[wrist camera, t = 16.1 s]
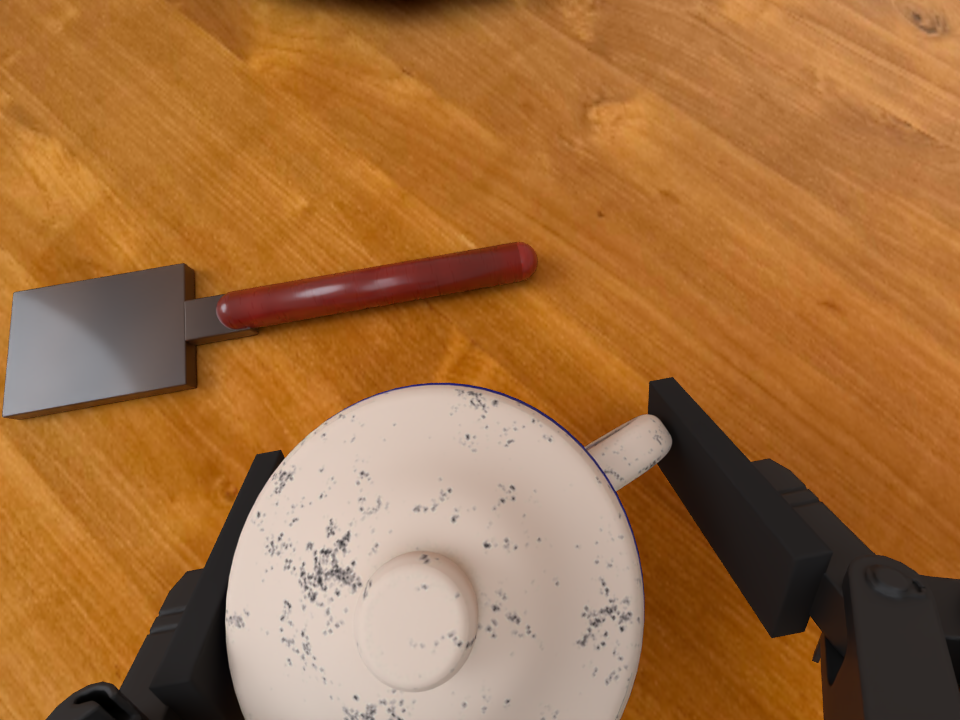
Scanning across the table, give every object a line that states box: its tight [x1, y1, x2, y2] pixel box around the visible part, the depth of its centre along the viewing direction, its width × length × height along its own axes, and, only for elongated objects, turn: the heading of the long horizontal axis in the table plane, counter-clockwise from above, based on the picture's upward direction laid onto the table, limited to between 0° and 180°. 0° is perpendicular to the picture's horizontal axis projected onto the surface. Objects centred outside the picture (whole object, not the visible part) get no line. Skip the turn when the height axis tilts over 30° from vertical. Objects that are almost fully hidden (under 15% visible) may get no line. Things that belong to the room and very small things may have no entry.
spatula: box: [2, 242, 538, 420], centre depth 21 cm, size 24×6×2 cm, turn 100°
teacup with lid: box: [225, 383, 672, 720], centre depth 13 cm, size 12×9×12 cm
